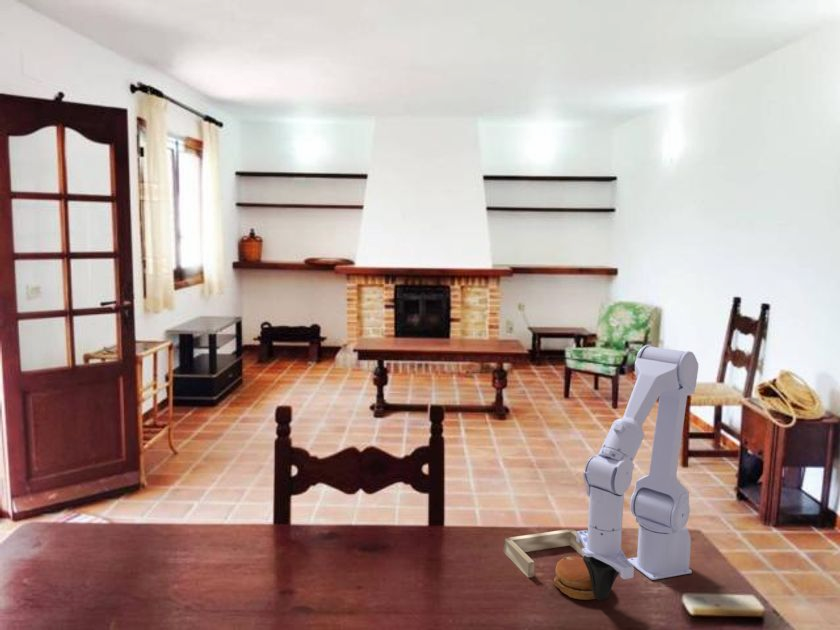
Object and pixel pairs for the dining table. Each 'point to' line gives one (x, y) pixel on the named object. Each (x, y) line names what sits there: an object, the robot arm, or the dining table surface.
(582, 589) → the burger
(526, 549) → the bay
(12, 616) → the dining table surface
